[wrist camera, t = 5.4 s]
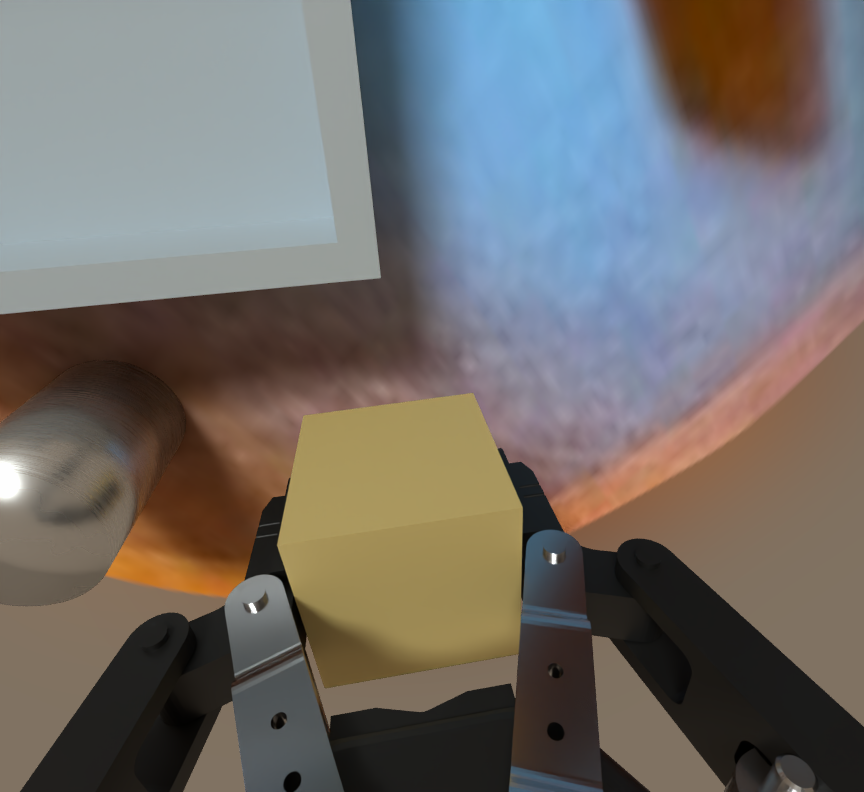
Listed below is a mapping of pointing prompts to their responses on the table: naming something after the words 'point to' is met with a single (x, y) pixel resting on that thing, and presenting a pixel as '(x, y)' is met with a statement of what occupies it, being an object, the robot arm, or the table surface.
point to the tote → (179, 150)
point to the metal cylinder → (80, 476)
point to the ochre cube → (402, 540)
